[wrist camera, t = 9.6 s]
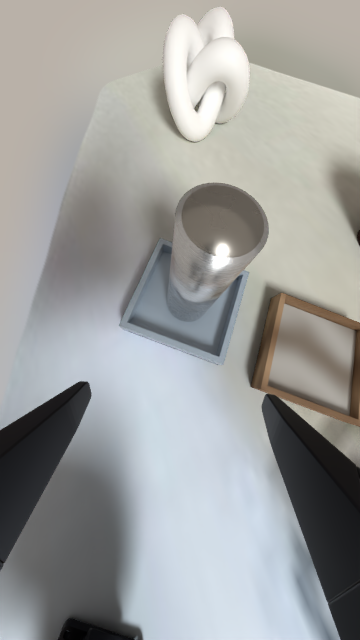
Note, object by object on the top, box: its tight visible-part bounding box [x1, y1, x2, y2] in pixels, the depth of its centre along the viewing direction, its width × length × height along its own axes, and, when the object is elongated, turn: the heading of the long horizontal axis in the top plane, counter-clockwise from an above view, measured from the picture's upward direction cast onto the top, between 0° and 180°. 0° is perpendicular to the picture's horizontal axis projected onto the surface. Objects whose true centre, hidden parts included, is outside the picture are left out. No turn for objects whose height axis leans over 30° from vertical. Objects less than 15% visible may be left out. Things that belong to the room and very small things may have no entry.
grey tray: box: [119, 238, 249, 365], centre depth 20 cm, size 11×11×2 cm
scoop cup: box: [167, 183, 269, 322], centre depth 14 cm, size 5×5×12 cm
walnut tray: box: [251, 293, 360, 427], centre depth 20 cm, size 11×11×2 cm
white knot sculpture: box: [163, 7, 250, 142], centre depth 24 cm, size 11×12×9 cm
